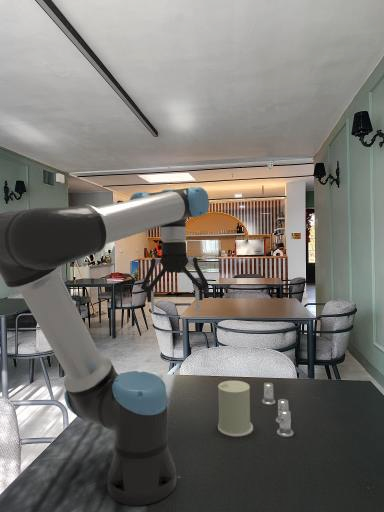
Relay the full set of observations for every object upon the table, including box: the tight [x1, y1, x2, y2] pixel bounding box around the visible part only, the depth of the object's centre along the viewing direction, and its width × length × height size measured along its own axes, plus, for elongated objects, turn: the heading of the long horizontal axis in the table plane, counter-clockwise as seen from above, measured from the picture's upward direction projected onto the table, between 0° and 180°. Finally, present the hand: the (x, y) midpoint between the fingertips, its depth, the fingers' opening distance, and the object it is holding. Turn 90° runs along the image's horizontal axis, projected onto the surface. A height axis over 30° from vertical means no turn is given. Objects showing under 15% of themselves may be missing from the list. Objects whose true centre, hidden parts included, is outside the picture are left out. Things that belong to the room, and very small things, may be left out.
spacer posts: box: [261, 382, 294, 438], centre depth 115 cm, size 25×19×6 cm
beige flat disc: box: [217, 421, 254, 438], centre depth 109 cm, size 10×10×1 cm
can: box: [217, 380, 251, 433], centre depth 108 cm, size 9×9×12 cm
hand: (175, 312), depth 114 cm, fingers open, 13 cm apart
